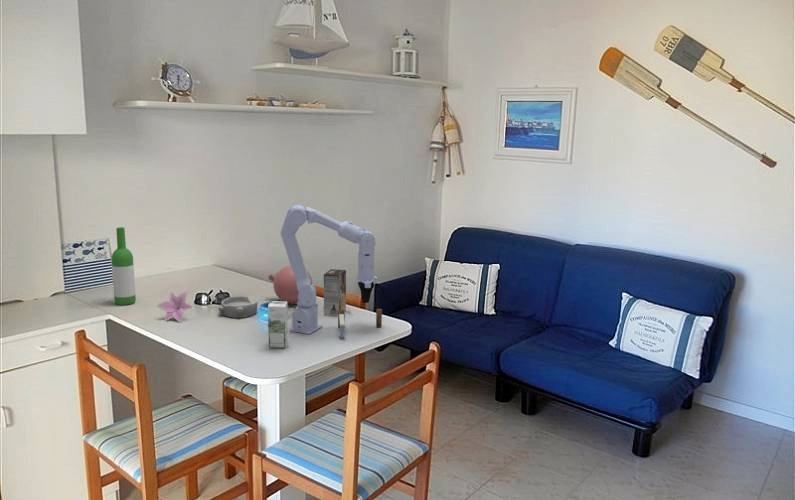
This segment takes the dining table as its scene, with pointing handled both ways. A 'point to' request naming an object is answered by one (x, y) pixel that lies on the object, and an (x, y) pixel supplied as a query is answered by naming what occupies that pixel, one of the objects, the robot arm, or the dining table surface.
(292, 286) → the pink balloon
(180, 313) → the lily
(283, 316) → the syrup box
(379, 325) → the gate posts
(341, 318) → the block
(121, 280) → the wine bottle
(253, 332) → the dining table surface
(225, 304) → the dish
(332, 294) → the coffee box
